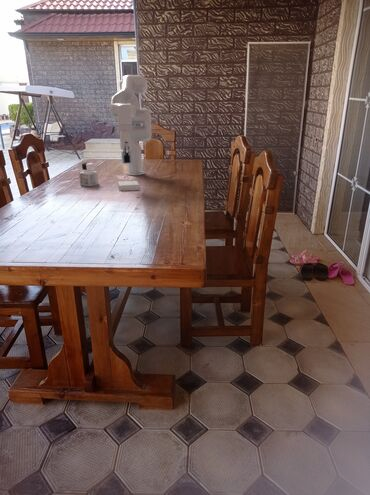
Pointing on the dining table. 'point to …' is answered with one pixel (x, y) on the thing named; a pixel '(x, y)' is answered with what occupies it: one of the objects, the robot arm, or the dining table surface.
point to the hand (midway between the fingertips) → (126, 161)
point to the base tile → (128, 185)
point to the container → (88, 175)
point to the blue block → (123, 156)
